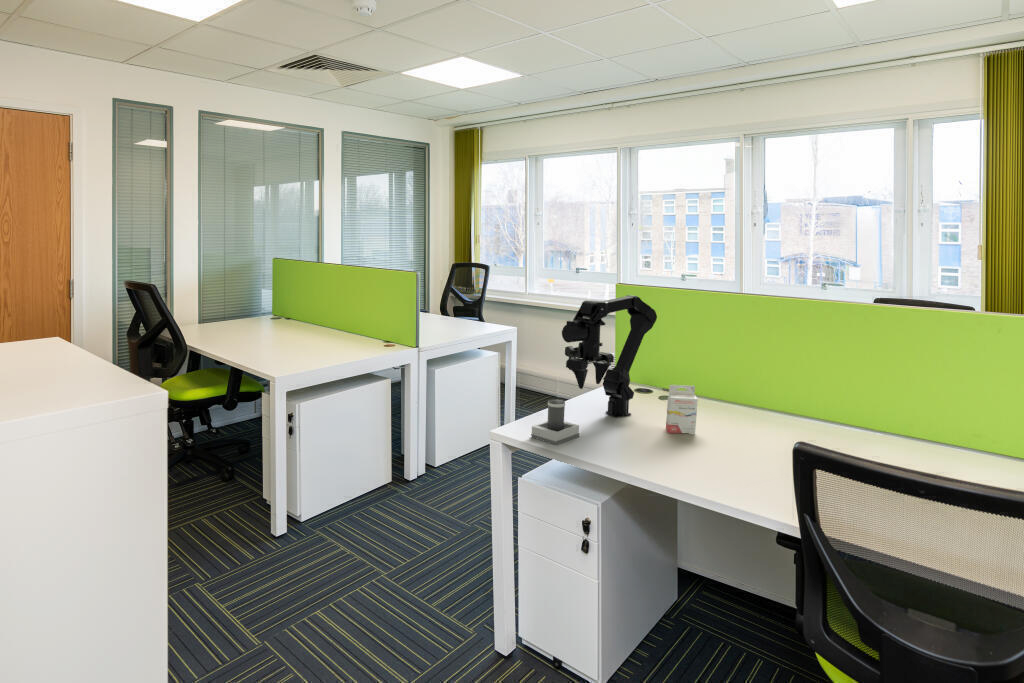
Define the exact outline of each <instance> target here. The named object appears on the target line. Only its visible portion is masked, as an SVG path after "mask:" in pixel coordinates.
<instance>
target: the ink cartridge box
mask: <svg viewBox="0 0 1024 683" xmlns="http://www.w3.org/2000/svg"><path fill="white" fill-rule="evenodd" d="M668 387H669V389H668V394H667V405H666V406H667V407H666V420H665V421H666V422H665V429H666V431H667V433H668V434H676V433H689V434H688V435H696V428H697V427H696V426H697V416H698V415H697V414H698V402H699V401H698V400H699V399H698V397H697V396H696V395H695V391H696V386H695V385H687V384H685V385H684V384H669V386H668ZM679 389H683V390H679ZM692 433H693V434H692Z"/></svg>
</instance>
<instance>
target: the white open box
mask: <svg viewBox="0 0 1024 683" xmlns="http://www.w3.org/2000/svg"><path fill="white" fill-rule="evenodd" d="M547 425H548V420H547V421H544V422H541V423H537V424H534V425H532V426H531V434H530V437H531V436H532V437H531V438H533V437H535V438H534V439H536V438H538V439H537V440H539V439H541V440H540V441H542V440H544V441H543V442H545V441H547V442H546V443H548V442H550V443H549V444H552V445H555V446H557V445H560V444H563V443H565V442H568V441H571V440H574V439H577V438H579V437H580V425H578V424H575V423H571V422H568V421H565V420H564V429H563V430H561V431H558V432H557V431H553V430H550V429H547Z"/></svg>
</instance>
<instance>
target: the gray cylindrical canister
mask: <svg viewBox="0 0 1024 683" xmlns="http://www.w3.org/2000/svg"><path fill="white" fill-rule="evenodd" d="M565 406H566V401H564V400H563V399H550V400H548V401H547V421H548V425H547V429H550V430H553V431H557V432H558V431H561V430H563V429H564V421H565Z"/></svg>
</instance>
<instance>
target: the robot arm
mask: <svg viewBox="0 0 1024 683" xmlns="http://www.w3.org/2000/svg"><path fill="white" fill-rule="evenodd" d="M625 310H626V312H627V314H628V315H629V316H630V318H629V324H630V330H629V333H628V335H627V338H626V340H625V343H624V345H623V346H622V350H621V353H620V355H619V357H618V359H617V362H616V364H615V366H614V367H613V368H612V369H611V368H609V367H610V366H612V363H614V359H615V358H614V357H615V356H614V355H613V354H612V353H609V352H604V351H600V349H601V348H600V347H602V346H603V342H601V326H606V323H605V321H604V320H602V319H604V318H606V317H607V316H608V314H611V313H616V312H619V311H625ZM657 317H658V316H657V313H656V310H655V309H654V308H652V307H651V306H650V305H649V304H648V303H646V302H645V301H643V300H642V299H641V297H639V296H638V295H629V294H627V295H625V296H621V297H616V298H611V299H608V300H584V301H582V302H581V305H580V307H579V309H578V310H577V312H576V314H575V316H574V318H573V320H566V324H565V325H564V326H563V328H562V330H561V336H562V339H563V341H564V342H565V343H575V342H576V343H577V342H579V343H578V346H577V347H573V345H569V346H566V347H564V348H565V349H564V355H565V357H568V359H567V360H566V361H565V368H567V369H568V370H570V371H571V372H572V373H573V374H574V376H575V379H576V382H577V385H578V388H579V389H580V390H583V388H584V386H585V383H586V382H585V381H586V378H587V375H588V371H589V369H587V368H588V367H589V365H591V364H593V367H594V368H595V369H594V370H595V372H594V373H595V384H597V385H600V383H601V382H602V380H603V382H602V386H603V390H604V394H605V396H608V402H607V410H606V411H605V414H608V415H610V416H613V417H615V418H623V417H627V416H628V417H629V416H632V413H631V412H629V407H630V400H632V399H634V395H635V391H633V390H632V388H631V387H630V383H631V378H630V371H631V368H632V366H633V363H634V361H635V358H636V356H637V355H638V354H637V353H638V351H639V349H640V346H641V344H642V342H643V339H644V337H645V334H647V333H648V332H649V331H650V330H651V329H653V327H654V325H655V323H656V322H657V319H658V318H657Z"/></svg>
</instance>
